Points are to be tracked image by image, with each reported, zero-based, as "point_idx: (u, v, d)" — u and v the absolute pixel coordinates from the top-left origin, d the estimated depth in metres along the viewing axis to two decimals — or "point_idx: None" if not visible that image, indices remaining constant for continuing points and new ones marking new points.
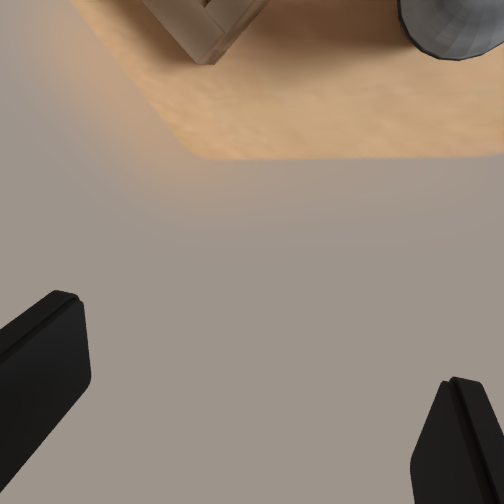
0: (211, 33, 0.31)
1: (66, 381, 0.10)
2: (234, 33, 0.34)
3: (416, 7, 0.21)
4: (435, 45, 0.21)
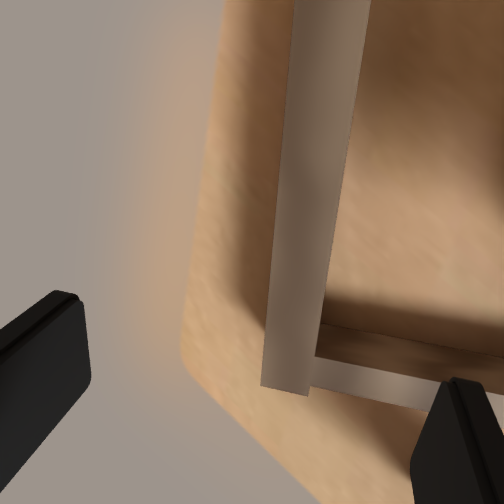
0: (298, 387, 0.26)
1: (66, 381, 0.10)
2: None
3: None
4: None
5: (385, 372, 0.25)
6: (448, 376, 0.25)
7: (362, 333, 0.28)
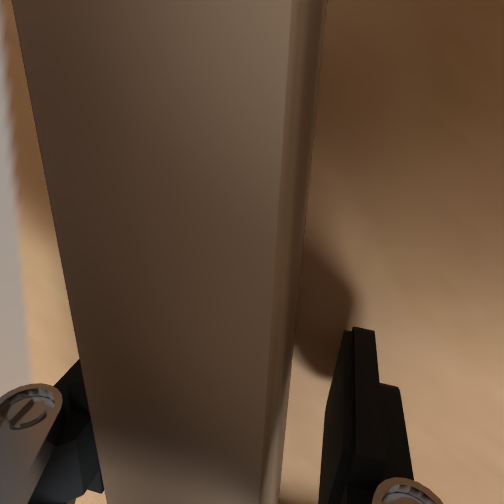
0: None
1: None
2: None
3: None
4: None
5: None
6: None
7: None
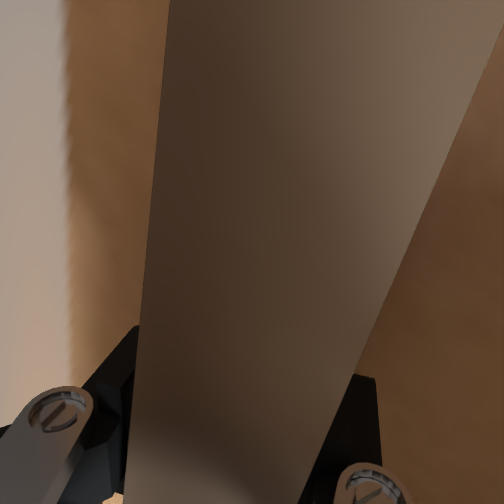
0: None
1: None
2: None
3: None
4: None
5: None
6: None
7: None
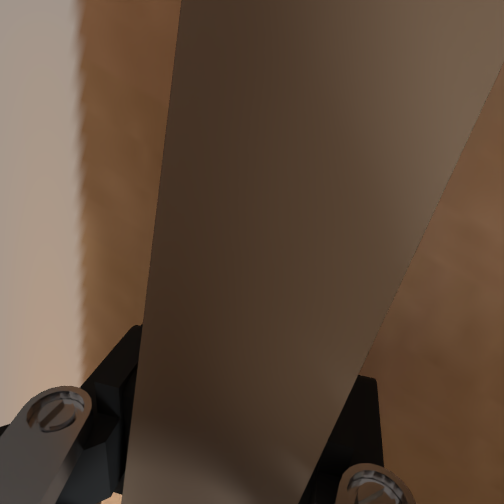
0: None
1: None
2: None
3: None
4: None
5: None
6: None
7: None
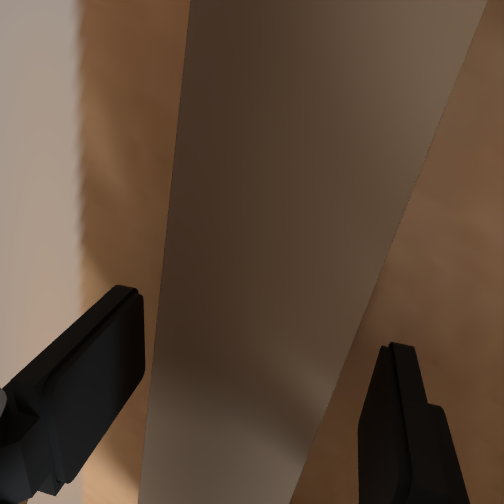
0: None
1: (127, 371, 0.11)
2: None
3: None
4: None
5: None
6: None
7: None
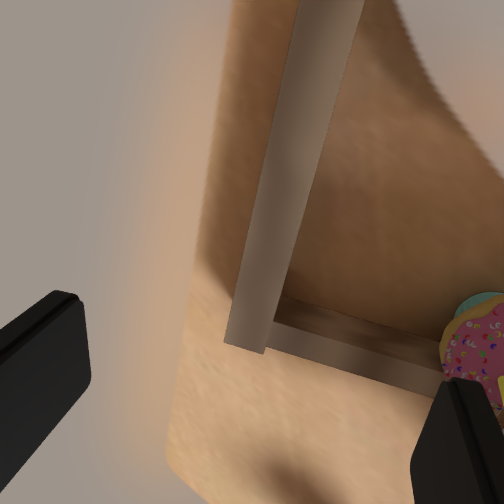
0: (255, 346, 0.30)
1: (66, 381, 0.10)
2: None
3: None
4: None
5: (330, 339, 0.30)
6: (380, 347, 0.30)
7: (315, 307, 0.33)
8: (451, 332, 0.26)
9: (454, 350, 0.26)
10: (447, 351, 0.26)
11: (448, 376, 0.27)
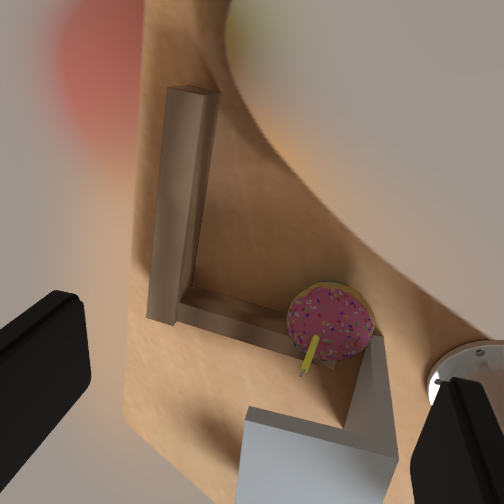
0: (167, 319, 0.43)
1: (66, 381, 0.10)
2: None
3: None
4: None
5: (218, 315, 0.43)
6: (253, 320, 0.43)
7: (215, 294, 0.46)
8: (289, 308, 0.39)
9: (290, 319, 0.39)
10: (287, 321, 0.39)
11: (291, 338, 0.40)
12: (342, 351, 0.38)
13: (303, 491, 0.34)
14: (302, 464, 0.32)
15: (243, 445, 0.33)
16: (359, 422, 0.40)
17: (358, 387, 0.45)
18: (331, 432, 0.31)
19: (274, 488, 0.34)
